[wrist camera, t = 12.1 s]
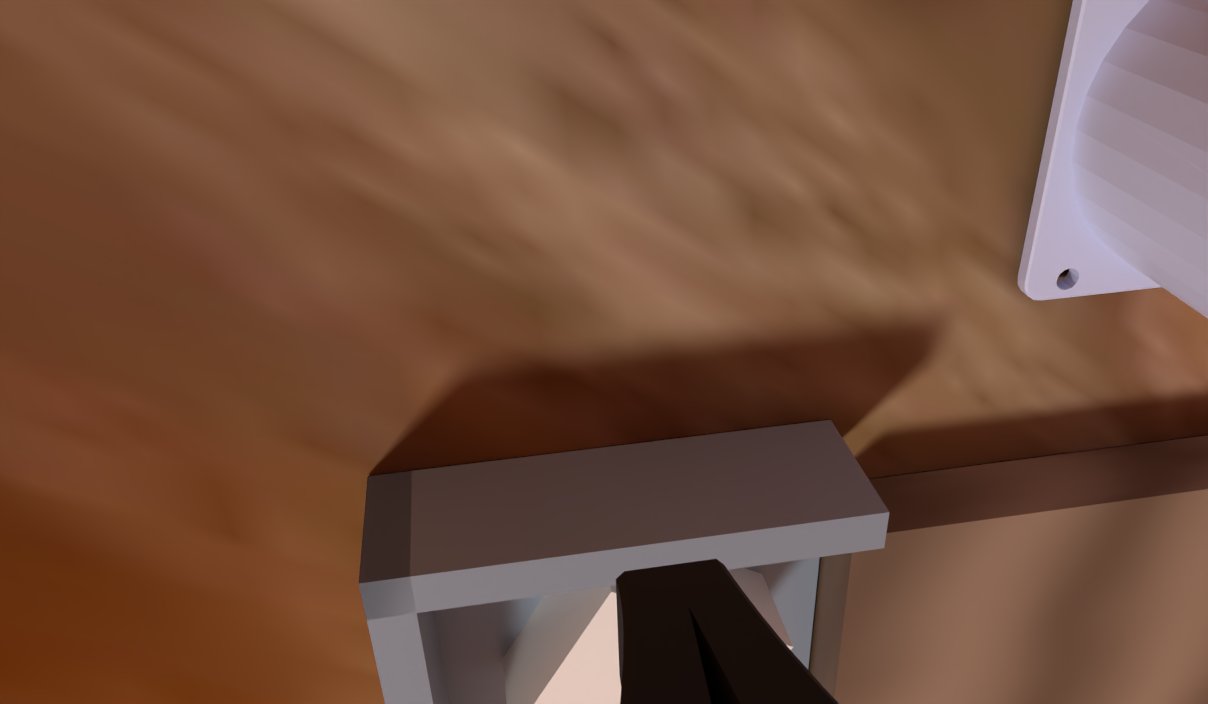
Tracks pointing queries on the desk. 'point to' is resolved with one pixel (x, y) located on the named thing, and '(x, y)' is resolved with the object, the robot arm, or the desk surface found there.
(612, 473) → the box
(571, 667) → the tile
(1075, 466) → the platform
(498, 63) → the desk surface
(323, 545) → the desk surface
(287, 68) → the desk surface
